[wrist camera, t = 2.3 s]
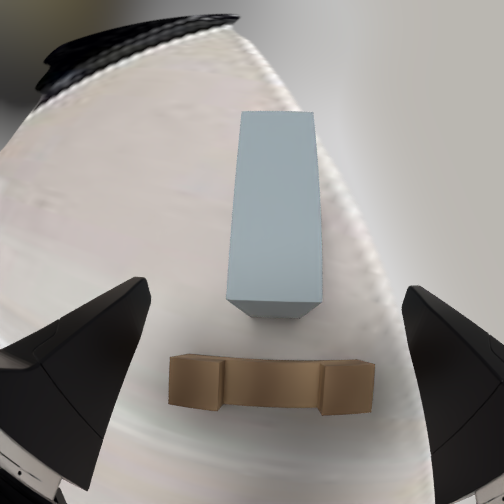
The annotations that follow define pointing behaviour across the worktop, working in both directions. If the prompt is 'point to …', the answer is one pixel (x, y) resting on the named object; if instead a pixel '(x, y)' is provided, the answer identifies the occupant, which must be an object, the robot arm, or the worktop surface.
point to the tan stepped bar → (271, 383)
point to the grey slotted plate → (276, 217)
